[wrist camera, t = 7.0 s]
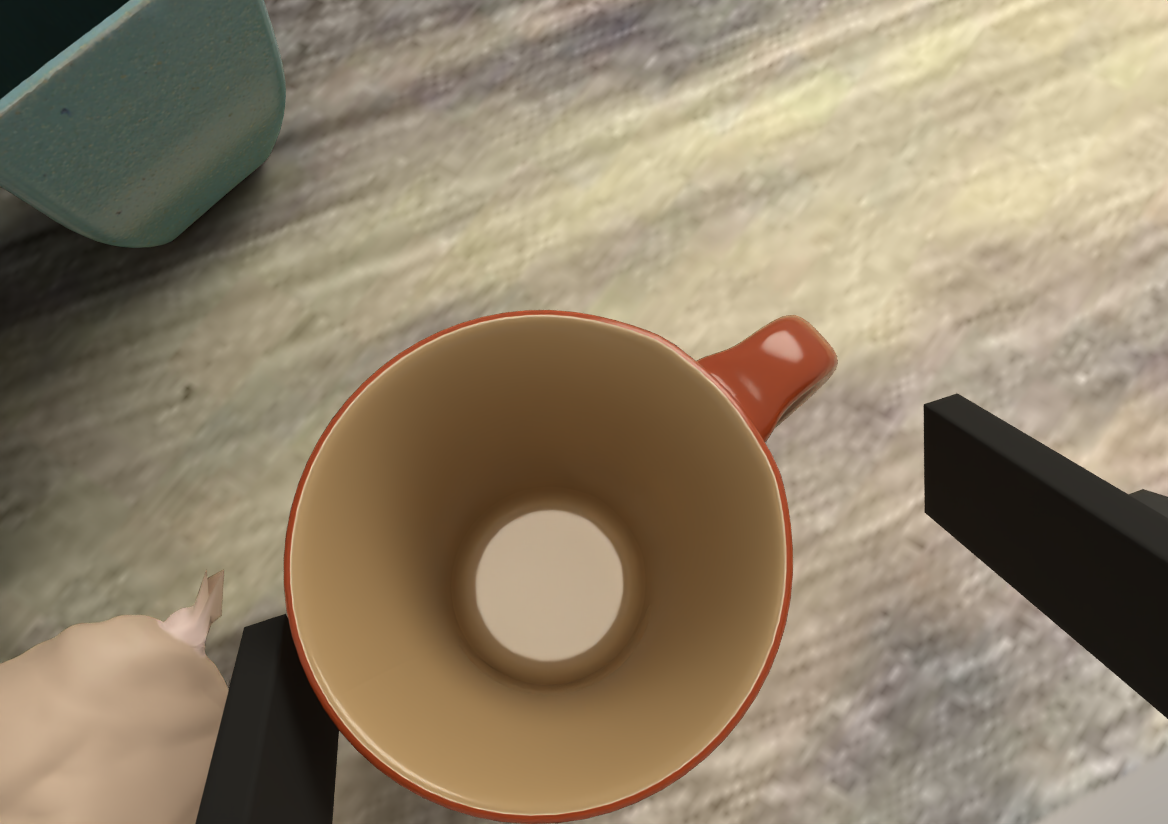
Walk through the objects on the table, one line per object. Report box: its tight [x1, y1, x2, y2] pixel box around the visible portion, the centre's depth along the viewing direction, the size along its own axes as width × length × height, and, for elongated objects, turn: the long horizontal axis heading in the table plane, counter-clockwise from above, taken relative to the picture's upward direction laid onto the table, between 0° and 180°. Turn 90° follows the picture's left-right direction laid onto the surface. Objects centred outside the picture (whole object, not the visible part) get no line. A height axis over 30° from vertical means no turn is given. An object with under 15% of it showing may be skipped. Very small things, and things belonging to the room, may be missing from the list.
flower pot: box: [0, 0, 286, 248], centre depth 23 cm, size 9×9×9 cm
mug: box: [284, 310, 838, 824], centre depth 18 cm, size 12×9×10 cm
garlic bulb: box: [0, 569, 229, 824], centre depth 18 cm, size 7×6×8 cm
